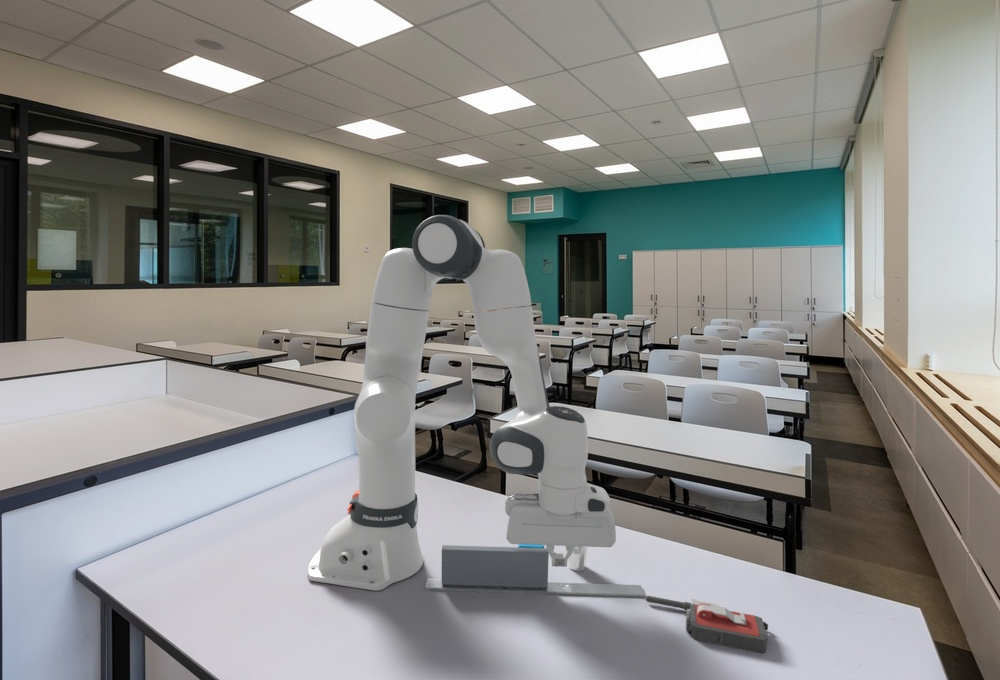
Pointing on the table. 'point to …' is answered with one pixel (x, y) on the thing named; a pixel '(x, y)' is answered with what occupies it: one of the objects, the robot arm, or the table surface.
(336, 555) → the robot arm
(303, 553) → the table surface
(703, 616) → the walkie-talkie
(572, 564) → the milkshake
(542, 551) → the screen
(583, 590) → the rail
